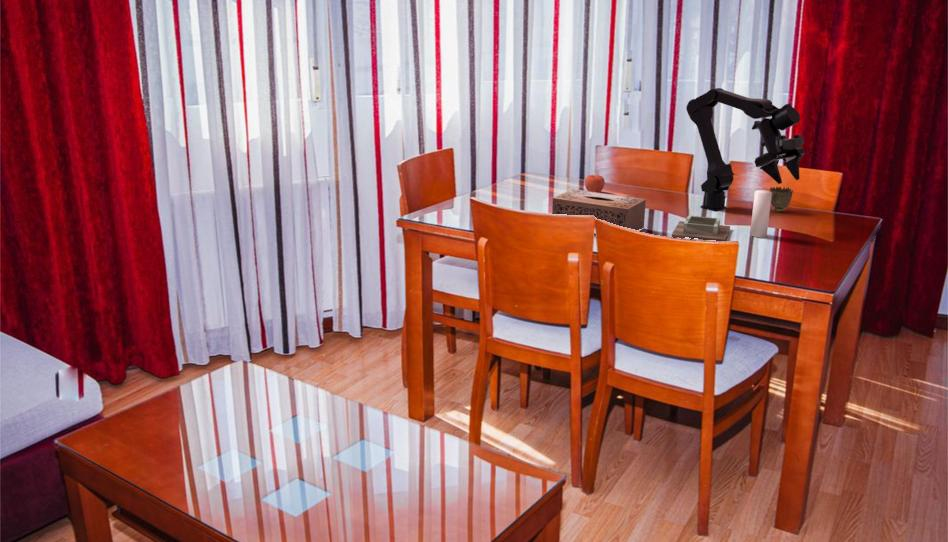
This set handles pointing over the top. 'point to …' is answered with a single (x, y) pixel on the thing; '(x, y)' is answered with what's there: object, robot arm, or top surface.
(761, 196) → the cream post
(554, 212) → the tissue box cover
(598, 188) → the apple
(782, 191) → the cup
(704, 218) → the collar seat
